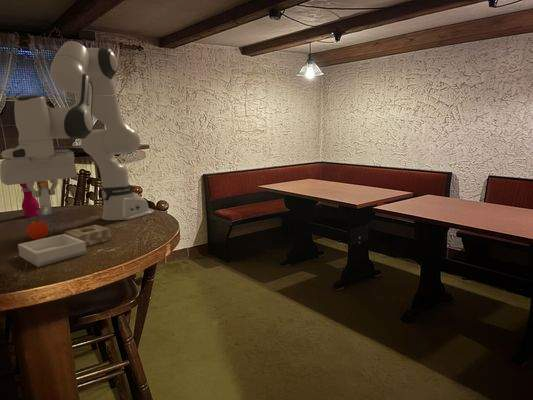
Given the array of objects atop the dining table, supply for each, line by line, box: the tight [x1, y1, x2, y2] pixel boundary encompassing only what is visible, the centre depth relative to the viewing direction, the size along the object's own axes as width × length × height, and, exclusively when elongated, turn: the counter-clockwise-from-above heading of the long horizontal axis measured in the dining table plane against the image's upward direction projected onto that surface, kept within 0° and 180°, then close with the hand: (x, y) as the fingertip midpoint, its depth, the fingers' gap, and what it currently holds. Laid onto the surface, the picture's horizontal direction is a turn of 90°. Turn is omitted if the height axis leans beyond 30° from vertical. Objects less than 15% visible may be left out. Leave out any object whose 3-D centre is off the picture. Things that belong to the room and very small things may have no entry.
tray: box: [17, 233, 88, 268], centre depth 119 cm, size 14×16×4 cm
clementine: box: [26, 220, 50, 241], centre depth 138 cm, size 8×7×7 cm
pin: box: [36, 181, 53, 216], centre depth 116 cm, size 3×3×10 cm
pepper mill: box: [19, 183, 40, 218], centre depth 180 cm, size 7×7×20 cm
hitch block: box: [64, 224, 112, 247], centre depth 134 cm, size 11×11×4 cm
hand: (44, 195), depth 116 cm, fingers closed on pin, 3 cm apart
